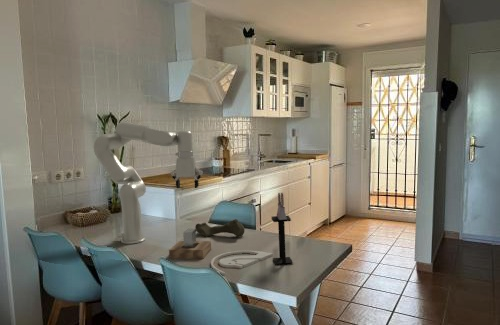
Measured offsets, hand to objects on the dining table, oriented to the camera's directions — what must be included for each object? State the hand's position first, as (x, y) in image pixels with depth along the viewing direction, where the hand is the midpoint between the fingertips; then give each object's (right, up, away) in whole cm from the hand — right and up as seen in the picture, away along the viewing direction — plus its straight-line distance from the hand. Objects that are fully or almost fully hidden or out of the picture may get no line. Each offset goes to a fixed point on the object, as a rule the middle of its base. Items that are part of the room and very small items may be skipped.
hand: (187, 187), depth 205 cm
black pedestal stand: (+47, -30, -36) cm, 66 cm away
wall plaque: (+26, -31, -32) cm, 51 cm away
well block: (+5, -30, -19) cm, 36 cm away
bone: (+16, -27, +10) cm, 33 cm away
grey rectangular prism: (+5, -29, -19) cm, 35 cm away
